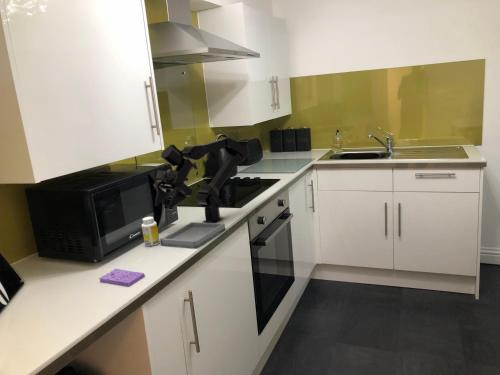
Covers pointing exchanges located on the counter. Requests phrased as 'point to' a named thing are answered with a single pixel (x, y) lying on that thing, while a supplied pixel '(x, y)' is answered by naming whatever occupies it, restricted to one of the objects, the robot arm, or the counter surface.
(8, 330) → the counter surface
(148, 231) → the supplement bottle
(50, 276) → the counter surface
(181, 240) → the tray
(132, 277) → the sponges
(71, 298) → the counter surface
